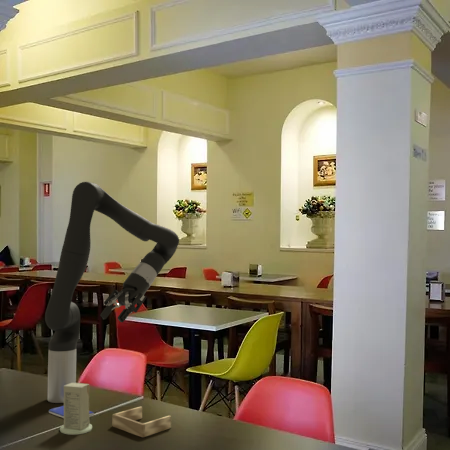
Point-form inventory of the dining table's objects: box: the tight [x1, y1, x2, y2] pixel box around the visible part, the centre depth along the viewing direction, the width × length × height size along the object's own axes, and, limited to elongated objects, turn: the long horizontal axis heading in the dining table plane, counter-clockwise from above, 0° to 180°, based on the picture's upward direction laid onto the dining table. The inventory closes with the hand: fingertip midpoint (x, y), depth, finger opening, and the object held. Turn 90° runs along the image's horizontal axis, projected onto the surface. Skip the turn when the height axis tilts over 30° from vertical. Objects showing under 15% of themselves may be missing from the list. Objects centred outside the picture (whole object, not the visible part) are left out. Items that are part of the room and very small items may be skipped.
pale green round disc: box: [59, 423, 93, 436], centre depth 162 cm, size 9×9×1 cm
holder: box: [111, 405, 172, 438], centre depth 165 cm, size 11×14×4 cm
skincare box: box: [63, 382, 90, 430], centre depth 162 cm, size 6×4×12 cm
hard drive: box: [48, 405, 95, 419], centre depth 176 cm, size 2×8×12 cm
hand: (110, 319), depth 171 cm, fingers open, 8 cm apart
